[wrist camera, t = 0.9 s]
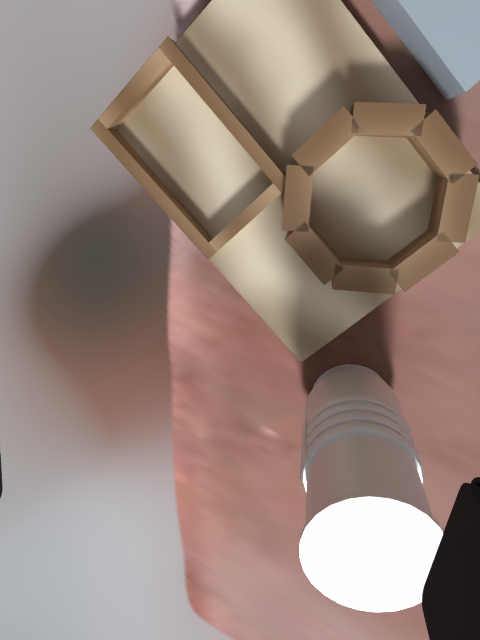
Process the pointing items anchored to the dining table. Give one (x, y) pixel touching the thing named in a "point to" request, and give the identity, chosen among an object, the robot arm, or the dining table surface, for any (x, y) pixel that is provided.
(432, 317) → the dining table surface
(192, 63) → the jig board
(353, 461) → the white ribbed cup
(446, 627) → the robot arm
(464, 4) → the blue-gray rectangular block
